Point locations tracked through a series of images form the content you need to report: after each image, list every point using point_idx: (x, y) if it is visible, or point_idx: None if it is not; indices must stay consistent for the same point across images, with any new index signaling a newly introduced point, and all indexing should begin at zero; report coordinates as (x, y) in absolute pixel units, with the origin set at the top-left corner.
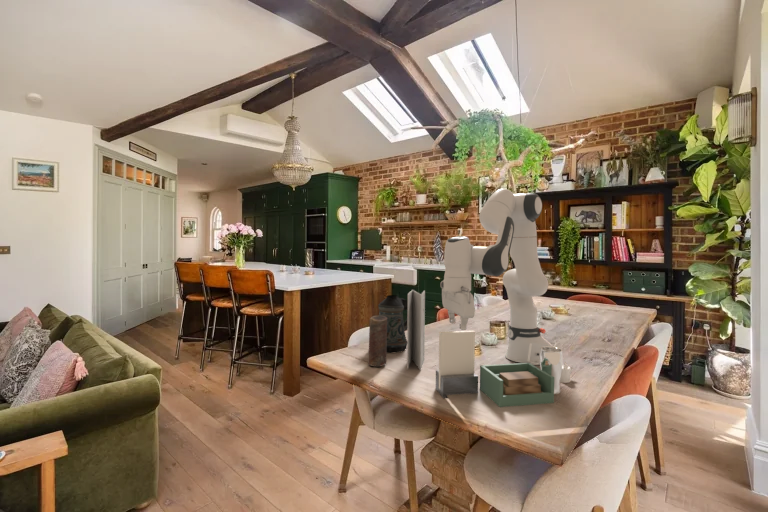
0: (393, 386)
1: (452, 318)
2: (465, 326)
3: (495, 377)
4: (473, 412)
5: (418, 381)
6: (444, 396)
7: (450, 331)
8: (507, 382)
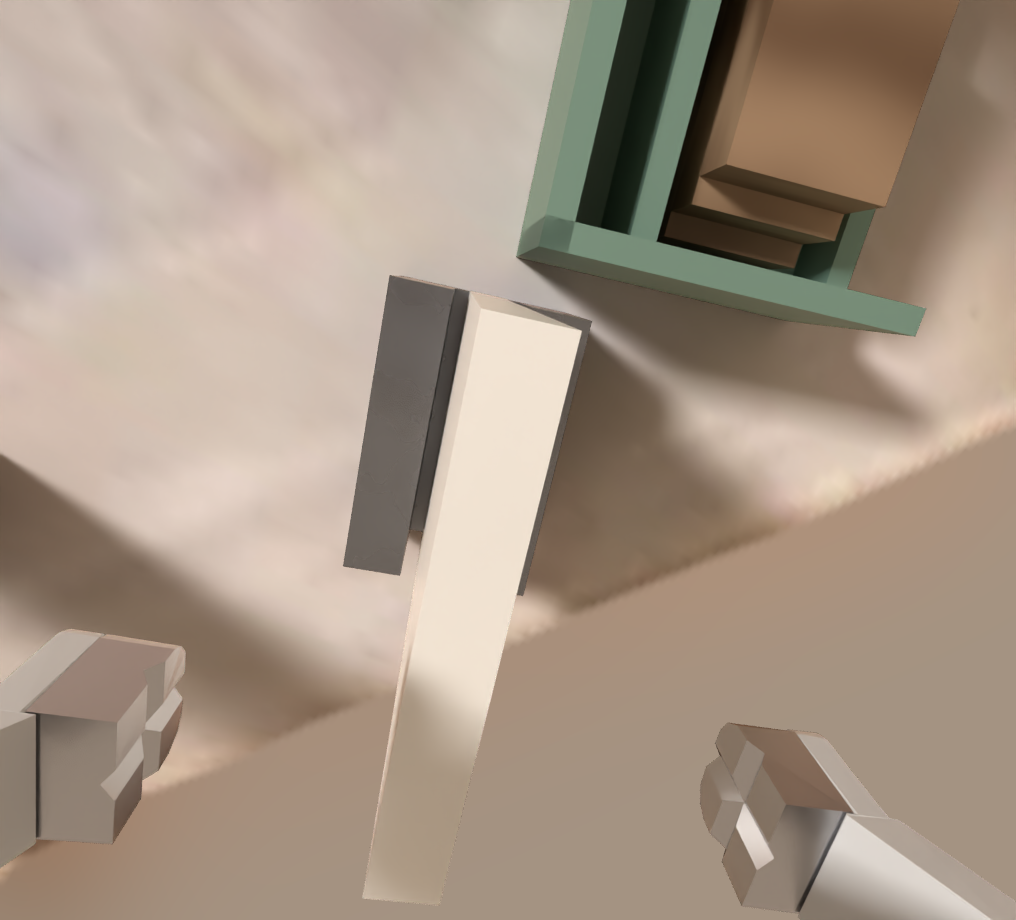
0: (253, 718)
1: (94, 797)
2: (846, 793)
3: (838, 318)
4: (735, 476)
5: (212, 555)
6: None
7: (395, 739)
8: (849, 206)
